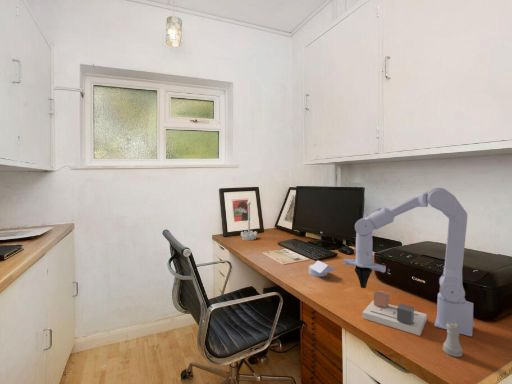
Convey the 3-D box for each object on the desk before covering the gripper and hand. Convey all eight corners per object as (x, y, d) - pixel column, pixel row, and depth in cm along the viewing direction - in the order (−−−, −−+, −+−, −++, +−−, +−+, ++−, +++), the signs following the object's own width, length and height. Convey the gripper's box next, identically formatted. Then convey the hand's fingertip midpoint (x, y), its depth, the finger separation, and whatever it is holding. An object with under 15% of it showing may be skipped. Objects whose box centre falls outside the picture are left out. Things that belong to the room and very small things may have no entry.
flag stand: (240, 237, 227) (240, 201, 225) (256, 236, 228) (256, 200, 227) (241, 240, 214) (241, 202, 212) (258, 240, 215) (257, 202, 214)
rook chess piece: (461, 360, 71) (462, 329, 71) (441, 353, 74) (441, 323, 74) (463, 352, 74) (464, 323, 74) (443, 345, 77) (444, 317, 77)
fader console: (426, 319, 91) (426, 313, 91) (420, 335, 82) (420, 329, 82) (373, 305, 102) (373, 300, 102) (362, 318, 93) (362, 312, 93)
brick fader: (388, 303, 98) (389, 292, 98) (385, 307, 95) (385, 296, 95) (377, 300, 101) (377, 289, 100) (373, 304, 97) (373, 293, 97)
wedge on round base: (336, 277, 131) (320, 269, 143) (336, 264, 131) (320, 257, 143) (319, 280, 128) (305, 271, 140) (320, 266, 128) (305, 258, 140)
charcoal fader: (413, 319, 87) (414, 307, 87) (411, 324, 84) (411, 311, 84) (399, 315, 89) (400, 303, 89) (397, 320, 86) (397, 307, 86)
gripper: (340, 249, 102) (340, 285, 103) (381, 256, 93) (381, 295, 94) (347, 246, 108) (347, 280, 109) (387, 252, 99) (386, 289, 99)
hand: (363, 287), depth 102 cm, fingers closed
